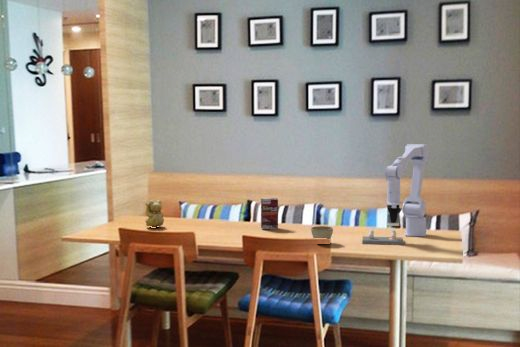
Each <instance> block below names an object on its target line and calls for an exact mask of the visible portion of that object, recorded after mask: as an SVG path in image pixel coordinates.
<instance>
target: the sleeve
mask: <svg viewBox="0 0 520 347" xmlns="http://www.w3.org/2000/svg"><path fill="white" fill-rule="evenodd" d="M387 226H392V227H393V226H395V227H400V212H398V215H397V221H396V223H391V220H390V214H389V212H387Z"/></svg>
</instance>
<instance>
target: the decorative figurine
mask: <svg viewBox="0 0 520 347" xmlns="http://www.w3.org/2000/svg"><path fill="white" fill-rule="evenodd" d="M144 206H146V209H145V214H146V216H147V218H146V219H145V225H146V227H149V226H152V227H157V226H159V227H161V226H163V225H164V222H165V219H164V214H163V212H162V209H163V207H162V206H163V204H162V200H161V199H158V200H156V202H155V201H154V200H153V199H150V200H149V202H145V205H144Z"/></svg>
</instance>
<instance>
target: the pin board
mask: <svg viewBox="0 0 520 347" xmlns="http://www.w3.org/2000/svg"><path fill="white" fill-rule="evenodd" d="M368 232H369V233H368V235H369V236H362V240H361V241H362V242H361V243H362V244H363V245H365V244H366V245H371V244H372V245H394V246H395V245H398V246H403V245H404V238H403V237H397V232H396V230H392V231H391V236H375V232H374V230H373V229H369V231H368Z"/></svg>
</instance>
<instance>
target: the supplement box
mask: <svg viewBox="0 0 520 347" xmlns="http://www.w3.org/2000/svg"><path fill="white" fill-rule="evenodd" d="M260 229H261V231H264V230H263V229H270V230H278V229H279V199H278V198H277V197H272V198H271V197H270V198H267V197H264V198H260Z"/></svg>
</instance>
